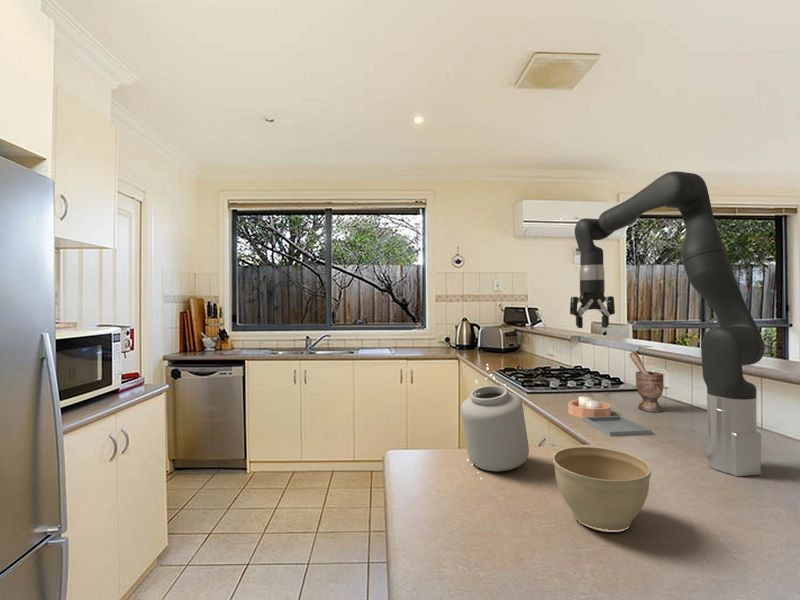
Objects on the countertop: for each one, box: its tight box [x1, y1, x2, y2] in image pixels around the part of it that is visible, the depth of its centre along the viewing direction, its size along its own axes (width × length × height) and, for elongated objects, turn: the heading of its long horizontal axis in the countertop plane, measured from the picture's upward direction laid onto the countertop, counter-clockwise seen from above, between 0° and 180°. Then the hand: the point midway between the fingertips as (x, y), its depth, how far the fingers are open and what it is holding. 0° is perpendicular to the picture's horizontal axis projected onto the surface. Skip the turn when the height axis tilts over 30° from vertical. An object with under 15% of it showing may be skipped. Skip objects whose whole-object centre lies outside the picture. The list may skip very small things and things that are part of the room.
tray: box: [583, 415, 652, 437], centre depth 131 cm, size 15×12×2 cm
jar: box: [460, 363, 530, 480], centre depth 105 cm, size 19×15×25 cm
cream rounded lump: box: [578, 395, 593, 408], centre depth 149 cm, size 4×4×5 cm
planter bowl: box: [552, 446, 652, 530], centre depth 79 cm, size 16×16×11 cm
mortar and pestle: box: [628, 351, 664, 413], centre depth 155 cm, size 12×9×20 cm
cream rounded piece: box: [586, 399, 600, 409], centre depth 144 cm, size 4×4×5 cm
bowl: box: [567, 399, 612, 419], centre depth 147 cm, size 13×13×4 cm
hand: (592, 327), depth 144 cm, fingers open, 8 cm apart
